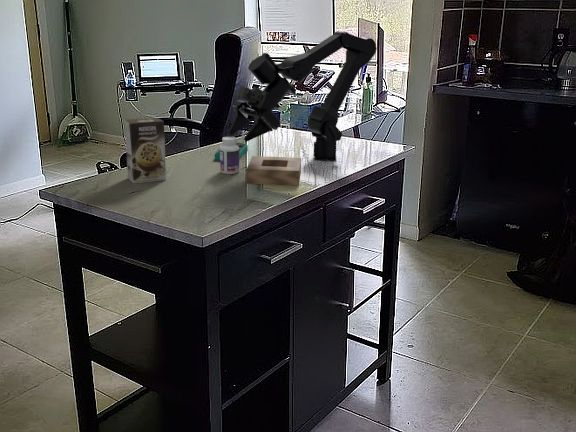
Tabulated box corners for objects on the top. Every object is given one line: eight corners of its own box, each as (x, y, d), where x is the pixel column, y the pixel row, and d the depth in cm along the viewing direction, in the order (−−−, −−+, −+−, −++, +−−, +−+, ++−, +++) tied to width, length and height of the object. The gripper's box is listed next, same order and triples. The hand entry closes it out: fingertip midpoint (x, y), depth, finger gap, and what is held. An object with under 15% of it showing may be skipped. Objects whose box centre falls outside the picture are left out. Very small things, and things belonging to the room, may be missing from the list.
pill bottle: (242, 170, 182) (242, 136, 179) (234, 175, 177) (234, 140, 174) (225, 168, 184) (224, 135, 180) (217, 173, 179) (216, 139, 176)
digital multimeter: (248, 151, 205) (248, 142, 204) (237, 163, 191) (237, 153, 190) (226, 150, 206) (226, 141, 205) (214, 161, 192) (213, 152, 191)
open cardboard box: (300, 171, 182) (301, 157, 181) (298, 185, 169) (299, 170, 168) (252, 169, 183) (252, 156, 182) (246, 183, 170) (246, 169, 169)
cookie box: (133, 184, 167) (129, 123, 162) (127, 178, 173) (123, 118, 167) (167, 180, 171) (164, 120, 166) (160, 174, 177) (157, 116, 171)
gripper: (238, 71, 183) (204, 112, 181) (271, 80, 168) (234, 124, 166) (262, 97, 190) (229, 137, 188) (295, 107, 175) (260, 151, 173)
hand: (237, 137), depth 178 cm, fingers open, 9 cm apart
